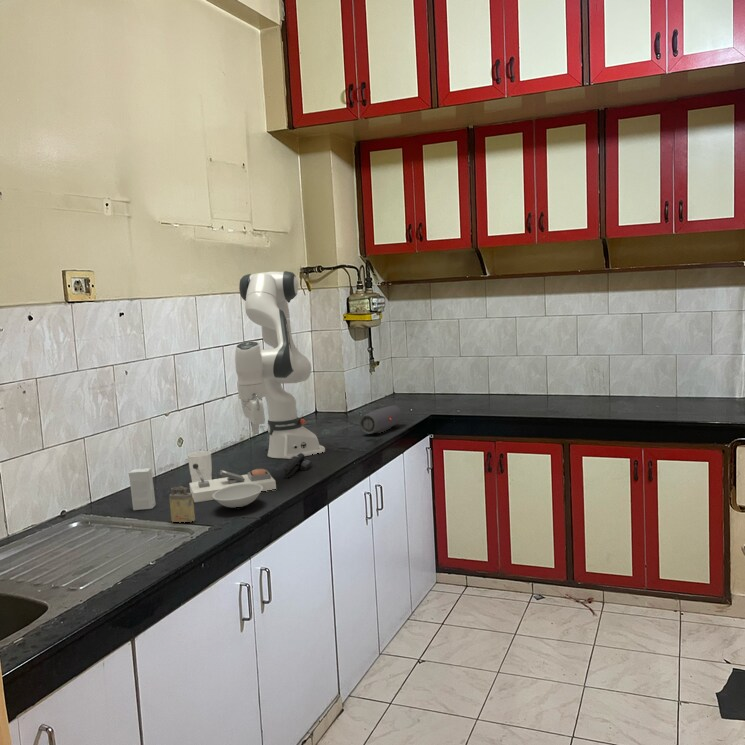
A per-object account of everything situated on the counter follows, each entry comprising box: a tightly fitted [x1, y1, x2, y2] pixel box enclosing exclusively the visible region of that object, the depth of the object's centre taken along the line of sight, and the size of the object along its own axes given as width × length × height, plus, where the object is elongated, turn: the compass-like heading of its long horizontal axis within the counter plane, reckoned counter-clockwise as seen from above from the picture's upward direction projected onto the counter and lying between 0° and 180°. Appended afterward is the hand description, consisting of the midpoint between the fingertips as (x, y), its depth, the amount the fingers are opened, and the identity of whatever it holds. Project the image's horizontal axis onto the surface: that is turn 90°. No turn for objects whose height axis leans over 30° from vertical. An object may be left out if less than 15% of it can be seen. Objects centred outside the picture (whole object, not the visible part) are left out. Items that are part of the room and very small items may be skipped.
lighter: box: [168, 485, 196, 524], centre depth 213 cm, size 7×4×10 cm, turn 77°
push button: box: [251, 468, 266, 476], centre depth 245 cm, size 4×4×2 cm
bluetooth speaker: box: [358, 405, 403, 435], centre depth 322 cm, size 23×9×10 cm, turn 148°
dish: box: [212, 483, 263, 509], centre depth 223 cm, size 18×14×5 cm
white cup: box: [187, 450, 213, 483], centre depth 257 cm, size 8×8×10 cm
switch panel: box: [189, 469, 277, 503], centre depth 243 cm, size 26×14×5 cm, turn 109°
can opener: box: [283, 453, 312, 479], centre depth 262 cm, size 18×7×6 cm, turn 162°
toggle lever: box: [193, 464, 204, 482], centre depth 239 cm, size 2×2×7 cm
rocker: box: [219, 469, 245, 482], centre depth 242 cm, size 8×4×1 cm, turn 109°
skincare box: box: [128, 467, 156, 511], centre depth 230 cm, size 6×4×12 cm
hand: (255, 433), depth 244 cm, fingers closed
